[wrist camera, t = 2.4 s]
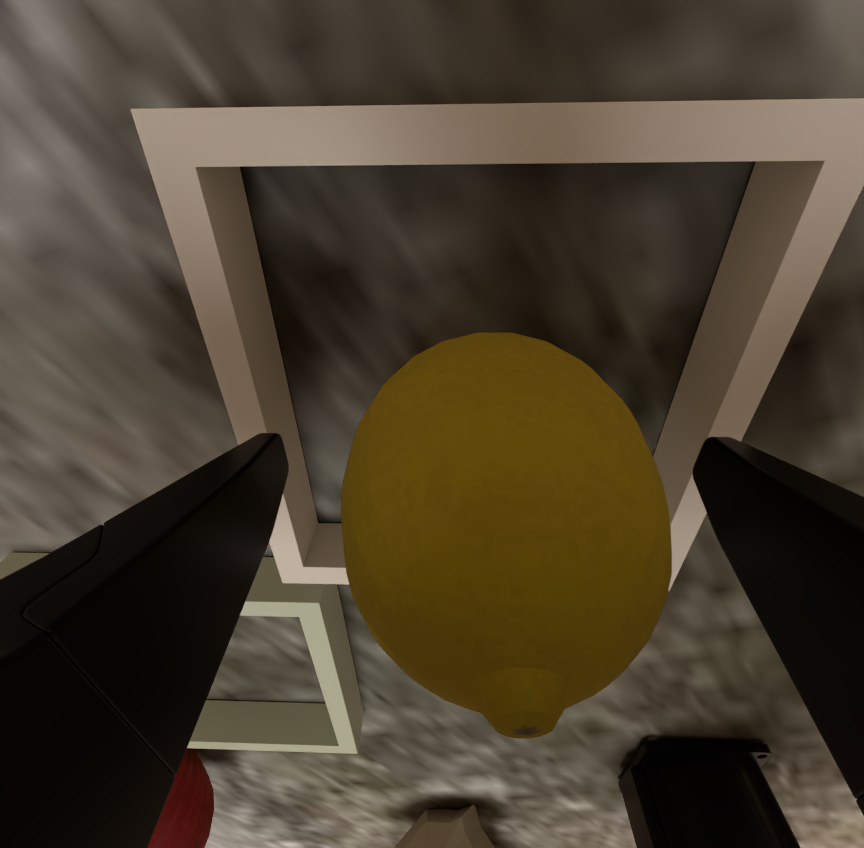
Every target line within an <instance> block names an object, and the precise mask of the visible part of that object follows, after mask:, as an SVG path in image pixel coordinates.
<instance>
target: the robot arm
mask: <svg viewBox="0 0 864 848" xmlns="http://www.w3.org/2000/svg"><path fill="white" fill-rule="evenodd" d="M288 472H289V464H288V459H287V455H286V451H285V447H284V443H283V440H282V437H281V435H279V434H278V433H259V434H257V435H255V436H254V437H252V438H250V439H249V440H247V441H245V442H243V443H242V444H240V445H238V446H236V447H235V448H233V449H231V450H229V451H228V452H226V453H224V454H222V455H221V456H219V457H217V458H216V459H214V460H212V461H210V462H209V463H207V464H205V465H203V466H202V467H200V468H198V469H196V470H195V471H193V472H191V473H189V474H188V475H186V476H184V477H182V478H181V479H179V480H177V481H176V482H174V483H172V484H170V485H169V486H167V487H165V488H163V489H162V490H160V491H158V492H156V493H155V494H153V495H151V496H149V497H148V498H146V499H144V500H142V501H141V502H139V503H137V504H136V505H134V506H132V507H130V508H129V509H127V510H125V511H123V512H122V513H120V514H118V515H116V516H115V517H113V518H111V519H109V520H108V521H106V522H105V523H104V526H103V525H99V526H97V527H95V528H94V529H92V530H90V531H88V532H87V533H85V534H83V535H82V536H80V537H78V538H76V539H74V540H73V541H71V542H69V543H67V544H65V545H64V546H62V547H60V548H58V549H57V550H55V551H53V552H51V553H49V554H48V555H46V556H44V557H42V558H40V559H38V560H36V561H34V562H32V563H30V564H29V565H27V566H25V567H23V568H21V569H19V570H17V571H15V572H13V573H11V574H9V575H7V576H6V577H4V578H2V579H0V848H148V845H149V843H150V840H151V838H152V835H153V833H154V830H155V828H156V825H157V823H158V820H159V818H160V815H161V813H162V810H163V808H164V805H165V803H166V800H167V798H168V795H169V793H170V790H171V788H172V785H173V783H174V780H175V776H174V775H176V774H177V772H178V769H179V767H180V764H181V762H182V759H183V757H184V754H185V752H186V749H187V747H188V744H189V742H190V739H191V737H192V734H193V732H194V729H195V727H196V724H197V722H198V719H199V717H200V714H201V712H202V709H203V707H204V704H205V702H206V699H207V697H208V694H209V692H210V689H211V687H212V684H213V681H214V679H215V676H216V674H217V671H218V669H219V666H220V664H221V661H222V659H223V656H224V654H225V651H226V649H227V646H228V644H229V641H230V639H231V636H232V634H233V631H234V629H235V626H236V624H237V621H238V619H239V616H240V614H241V611H242V609H243V606H244V604H245V601H246V599H247V596H248V594H249V591H250V589H251V586H252V584H253V581H254V579H255V576H256V574H257V571H258V569H259V566H260V564H261V561H262V559H263V556H264V553H265V551H266V548H267V546H268V543H269V541H270V538H271V535H272V532H273V529H274V525H275V522H276V518H277V514H278V511H279V507H280V503H281V499H282V495H283V492H284V488H285V484H286V480H287V477H288ZM692 472H693V479H694V482H695V484H696V487H697V489H698V492H699V494H700V497H701V500H702V502H703V505H704V507H705V510H706V512H707V515H708V517H709V520H710V522H711V525H712V527H713V530H714V532H715V534H716V537H717V539H718V541H719V543H720V545H721V547H722V549H723V551H724V553H725V555H726V557H727V559H728V561H729V563H730V564H731V566H732V568H733V570H734V572H735V574H736V576H737V578H738V580H739V581H740V583H741V585H742V587H743V589H744V591H745V593H746V595H747V596H748V598H749V600H750V602H751V604H752V606H753V608H754V610H755V611H756V613H757V615H758V617H759V619H760V621H761V623H762V625H763V627H764V628H765V630H766V632H767V634H768V636H769V638H770V640H771V642H772V643H773V645H774V647H775V649H776V651H777V653H778V655H779V657H780V658H781V660H782V662H783V664H784V666H785V668H786V670H787V672H788V674H789V675H790V677H791V679H792V681H793V683H794V685H795V687H796V689H797V690H798V692H799V694H800V696H801V698H802V700H803V702H804V704H805V705H806V707H807V709H808V711H809V713H810V715H811V717H812V719H813V720H814V722H815V724H816V726H817V728H818V730H819V732H820V734H821V736H822V737H823V739H824V741H825V743H826V745H827V747H828V749H829V751H830V752H831V754H832V756H833V758H834V760H835V762H836V764H837V766H838V767H839V769H840V771H841V773H842V775H843V777H844V779H845V781H846V783H847V784H848V786H849V788H850V790H851V792H852V794H853V796H854V797H855V798H857V800H856V802H857V804H858V806H859V808H860V810H861V811H862V813H863V815H864V497H863V496H860V495H858V494H856V493H854V492H851V491H849V490H847V489H845V488H843V487H840V486H838V485H836V484H834V483H831V482H829V481H827V480H825V479H823V478H820V477H818V476H816V475H814V474H811V473H809V472H807V471H805V470H803V469H800V468H798V467H796V466H794V465H792V464H789V463H787V462H785V461H783V460H780V459H778V458H776V457H774V456H772V455H769V454H767V453H765V452H763V451H760V450H758V449H756V448H754V447H752V446H749V445H747V444H745V443H743V442H740V441H738V440H736V439H734V438H731V437H709V438H707V439H706V440H705V441H704V443H703V445H702V447H701V450H700V452H699V454H698V457H697V459H696V462H695V464H694V466H693V471H692ZM772 756H773V755H772V753H771V751H770V749H769V747H768V746H767V745H766V744H762V743H730V742H697V741H665V740H650V741H646V742H644V743H643V744H642V745H641V747H640V749H639V750H638V752H637V753H636V755H635V757H634V758H633V760H632V761H631V763H630V765H629V766H628V768H627V769H626V771H625V773H624V774H623V776H622V778H621V779H620V781H619V782H618V784H619V788H620V792H621V793H622V795H623V798H624V802H625V806H626V809H627V813H628V817H629V820H630V824H631V828H632V831H633V835H634V839H635V842H636V846H637V848H800V846H799V844H798V842H797V840H796V838H795V836H794V834H793V832H792V830H791V828H790V826H789V824H788V822H787V820H786V818H785V816H784V814H783V812H782V810H781V808H780V806H779V804H778V802H777V800H776V798H775V796H774V794H773V792H772V790H771V788H770V786H769V784H768V782H767V780H766V778H765V776H764V775H763V773H762V771H761V769H760V768H761V767H762V766H763V765H764V764H765V763H766V762H767V761H768V760H769V759H770V758H771V757H772Z"/></svg>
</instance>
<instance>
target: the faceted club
mask: <svg viewBox="0 0 864 848" xmlns="http://www.w3.org/2000/svg"><path fill="white" fill-rule="evenodd" d="M395 848H495V847H494V846H493V844H492V843H491V841H490V840H489V838H488V837H487V835H486V833H485V832H484V830H483V829H482V827H481V824H480V821H479V817H478V814H477V811H476V808H475V806H473V805H471V806H468V807H465V808H463V809H461V810H449V809H427V810H425V811H424V812H423V814H422V815H421V816H420V817H419V818H418V820H417V821H416V822H415V823H414V824H413V826H412V827H411V828H410V829H409V831H408V832H407V833H406V834H405V835H404V837H403V838H402V839H401V840H400V842H399V843H398V844H397V845H396V846H395Z"/></svg>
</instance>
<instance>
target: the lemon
mask: <svg viewBox="0 0 864 848" xmlns="http://www.w3.org/2000/svg"><path fill="white" fill-rule="evenodd" d="M341 523H342V537H343V547H344V557H345V565H346V573H347V577H348V581H349V585H350V589H351V593H352V595H353V597H354V600H355V602H356V604H357V606H358V608H359V610H360V613H361V615H362V617H363V619H364V621H365V623H366V625H367V627H368V629H369V631H370V633H371V634H372V636H373V637H374V638H375V640H376V641H377V642H378V644H379V645H380V646H381V648H382V649H383V650H384V651H385V652H386V654H387V655H388V656H389V657H390V658H391V659H392V660H393V661H394V662H395V663H396V664H397V665H398V666H399V667H400V668H401V669H402V670H403V671H404V672H405V673H406V674H408V675H409V676H410V677H411V678H412V679H413V680H414V681H416V682H417V683H419V684H420V685H422V686H423V687H425V688H426V689H428V690H429V691H431V692H432V693H434V694H436V695H437V696H439V697H441V698H442V699H444V700H445V701H448V702H451V703H453V704H456V705H459V706H461V707H464V708H467V709H470V710H473V711H476V712H480V713H482V714H483V715H484V717H485V718H486V719H487V720H488V721H489V723H490V724H491V725H492V726H493V727H494V729H495V730H496V731H497V732H499V733H500V734H502V735H505V736H508V737H512V738H534V737H539V736H543V735H545V734H547V733H549V732H550V731H552V730H553V729H554V727H555V725H556V724H557V722H558V720H559V718H560V716H561V714H562V712H563V711H564V709H565V708H567V707H570V706H572V705H574V704H576V703H578V702H581V701H583V700H585V699H587V698H589V697H591V696H593V695H595V694H596V693H598V692H599V691H601V690H602V689H603V688H605V687H606V686H608V685H609V684H610V683H611V682H612V681H613V680H615V679H616V678H617V677H618V676H619V675H620V674H621V673H622V672H624V670H625V669H626V668H627V667H628V666H629V664H630V663H631V662H632V661H633V660H634V658H635V657H636V656H637V655H638V653H639V652H640V651H641V649H642V648H643V647H644V645H645V644H646V643H647V641H648V640H649V639H650V637H651V635H652V633H653V630H654V628H655V626H656V624H657V622H658V620H659V617H660V614H661V612H662V609H663V606H664V603H665V601H666V598H667V595H668V590H669V585H670V580H671V575H672V546H671V526H670V518H669V511H668V504H667V499H666V495H665V491H664V487H663V483H662V480H661V477H660V474H659V471H658V468H657V466H656V463H655V461H654V459H653V456H652V454H651V452H650V450H649V447H648V445H647V443H646V441H645V439H644V437H643V434H642V432H641V430H640V428H639V426H638V423H637V422H636V420H635V418H634V416H633V415H632V413H631V411H630V410H629V408H628V407H627V406H626V404H625V403H624V402H623V400H622V399H621V398H620V397H619V396H618V395H617V394H616V393H615V392H614V391H613V390H612V389H611V388H610V387H609V386H608V385H607V384H606V383H605V382H604V381H603V380H602V379H601V378H600V376H599V375H598V374H597V373H596V372H595V371H594V370H593V369H591V368H590V367H589V366H588V365H587V364H585V363H584V362H583V361H581V360H580V359H578V358H576V357H574V356H572V355H571V354H569V353H567V352H565V351H563V350H562V349H560V348H558V347H556V346H554V345H553V344H551V343H548V342H546V341H544V340H540V339H536V338H532V337H528V336H524V335H520V334H516V333H512V332H499V333H473V334H469V335H465V336H461V337H457V338H453V339H449V340H445V341H442V342H440V343H438V344H436V345H435V346H433V347H431V348H429V349H427V350H425V351H423V352H421V353H419V354H417V355H415V356H414V357H413V358H412V359H410V360H409V361H408V362H407V363H406V364H405V365H404V366H403V367H402V368H400V369H399V370H398V371H397V372H396V373H395V374H394V375H393V376H392V377H390V378H389V379H388V380H387V381H386V382H385V383H384V385H383V386H382V387H381V389H380V390H379V392H378V394H377V395H376V397H375V398H374V400H373V402H372V403H371V405H370V406H369V408H368V410H367V411H366V413H365V414H364V416H363V418H362V420H361V422H360V424H359V426H358V428H357V431H356V434H355V436H354V440H353V444H352V447H351V451H350V455H349V459H348V463H347V467H346V471H345V475H344V480H343V487H342V497H341Z"/></svg>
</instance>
